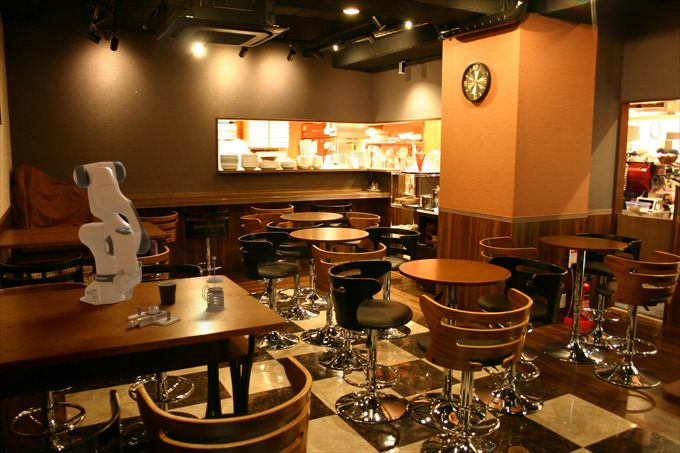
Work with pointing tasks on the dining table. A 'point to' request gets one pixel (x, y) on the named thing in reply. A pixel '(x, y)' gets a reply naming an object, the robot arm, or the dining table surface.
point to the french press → (214, 295)
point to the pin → (134, 323)
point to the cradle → (154, 318)
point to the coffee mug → (167, 293)
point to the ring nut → (153, 310)
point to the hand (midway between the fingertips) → (128, 299)
